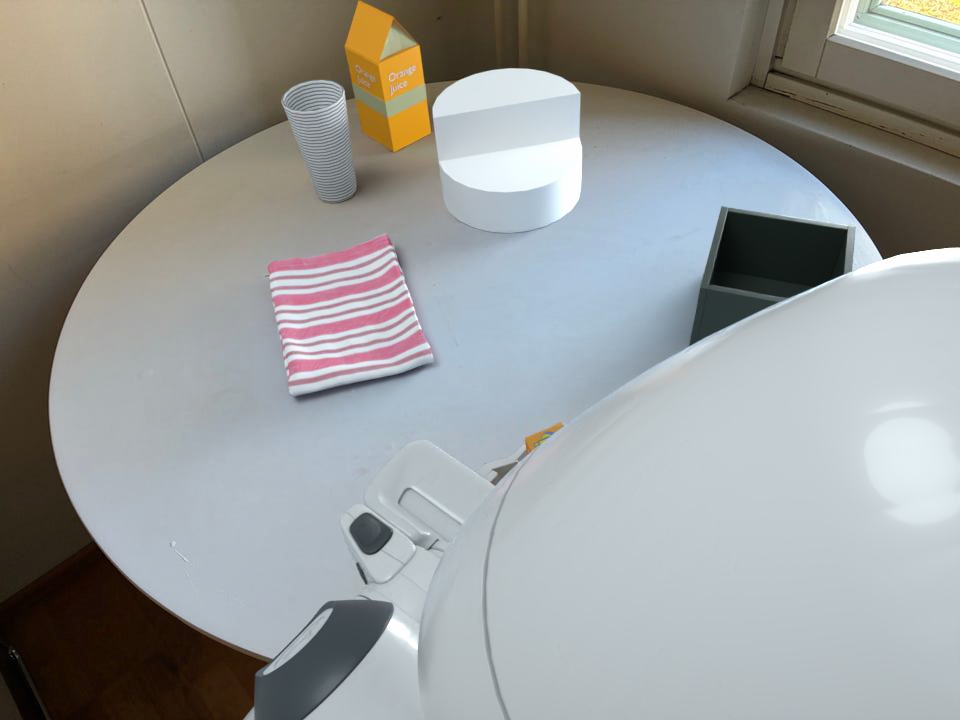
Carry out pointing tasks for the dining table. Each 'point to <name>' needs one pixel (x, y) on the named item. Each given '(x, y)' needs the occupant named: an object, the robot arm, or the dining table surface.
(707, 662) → the robot arm
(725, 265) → the storage bin
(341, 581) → the dining table surface
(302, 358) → the dish towel
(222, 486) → the dining table surface
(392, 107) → the orange juice
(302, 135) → the cup
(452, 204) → the stepped white cylinder
